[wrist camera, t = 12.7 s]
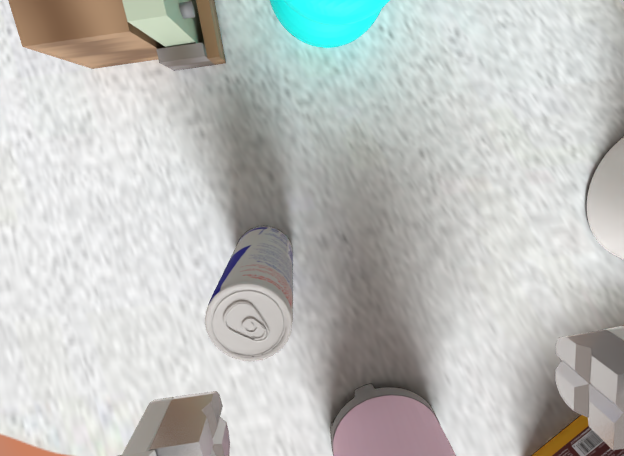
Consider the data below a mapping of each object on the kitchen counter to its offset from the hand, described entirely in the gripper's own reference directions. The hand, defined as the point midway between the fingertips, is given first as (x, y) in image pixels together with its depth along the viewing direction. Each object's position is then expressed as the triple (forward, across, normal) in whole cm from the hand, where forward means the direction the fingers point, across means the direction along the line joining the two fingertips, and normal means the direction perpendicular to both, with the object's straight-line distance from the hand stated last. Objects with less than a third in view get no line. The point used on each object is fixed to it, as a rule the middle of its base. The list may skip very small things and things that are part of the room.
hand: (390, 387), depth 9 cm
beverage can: (+29, +6, +5) cm, 30 cm away
